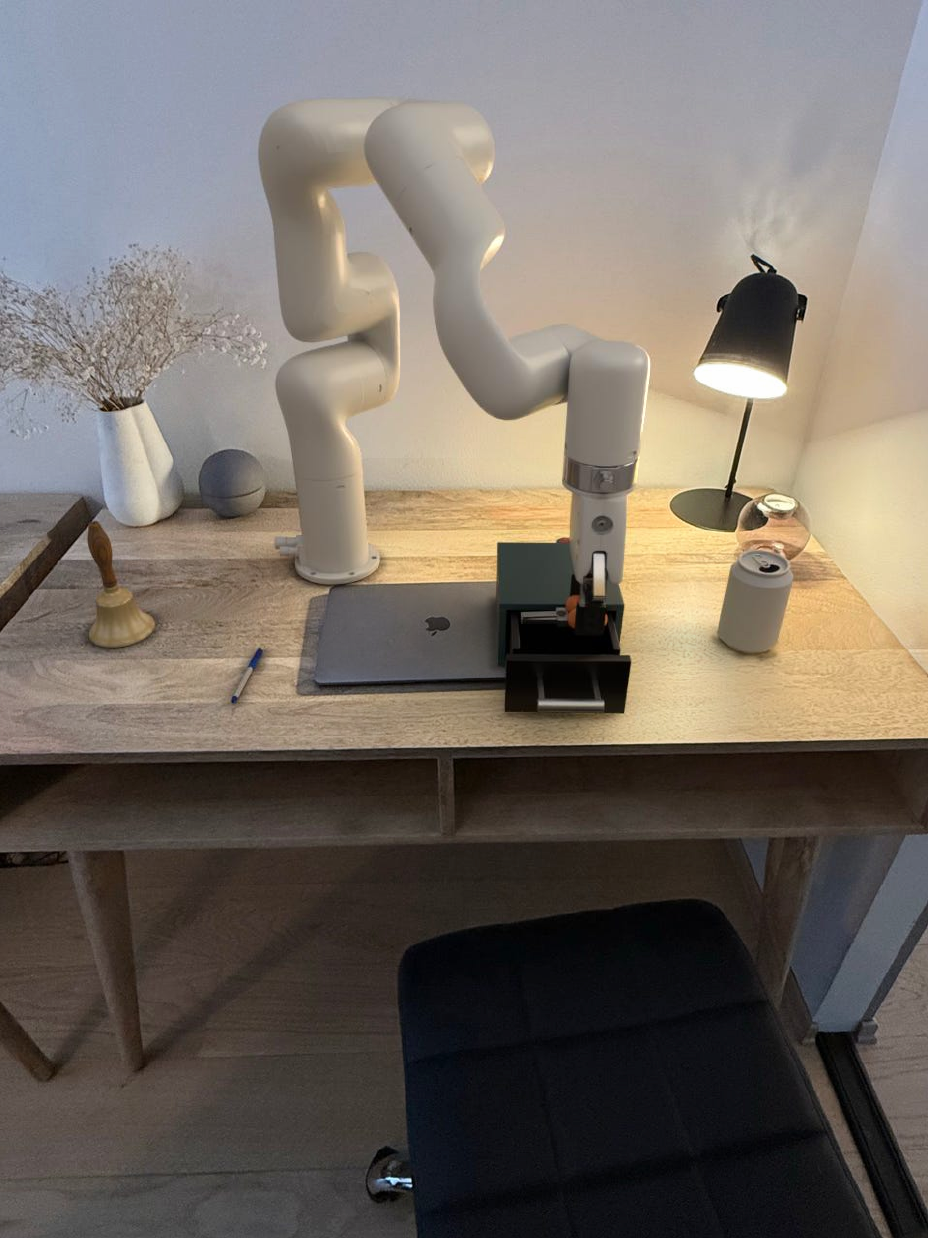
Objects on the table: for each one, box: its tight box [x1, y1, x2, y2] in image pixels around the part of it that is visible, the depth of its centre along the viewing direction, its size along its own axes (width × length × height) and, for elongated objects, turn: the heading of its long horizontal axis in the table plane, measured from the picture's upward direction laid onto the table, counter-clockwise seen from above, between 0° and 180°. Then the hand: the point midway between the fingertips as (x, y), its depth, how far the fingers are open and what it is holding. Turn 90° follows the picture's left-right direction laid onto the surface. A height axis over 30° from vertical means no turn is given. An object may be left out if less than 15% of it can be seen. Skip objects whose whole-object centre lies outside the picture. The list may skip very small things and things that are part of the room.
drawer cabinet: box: [495, 541, 625, 667], centre depth 106 cm, size 15×15×9 cm
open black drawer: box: [503, 610, 632, 715], centre depth 95 cm, size 19×14×7 cm
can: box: [717, 549, 794, 655], centre depth 104 cm, size 8×8×12 cm
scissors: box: [521, 595, 607, 628], centre depth 93 cm, size 10×5×2 cm, turn 89°
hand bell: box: [86, 520, 156, 649], centre depth 105 cm, size 8×8×16 cm
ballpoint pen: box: [230, 647, 263, 704], centre depth 100 cm, size 10×1×1 cm, turn 175°
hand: (586, 617), depth 93 cm, fingers closed on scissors, 5 cm apart
